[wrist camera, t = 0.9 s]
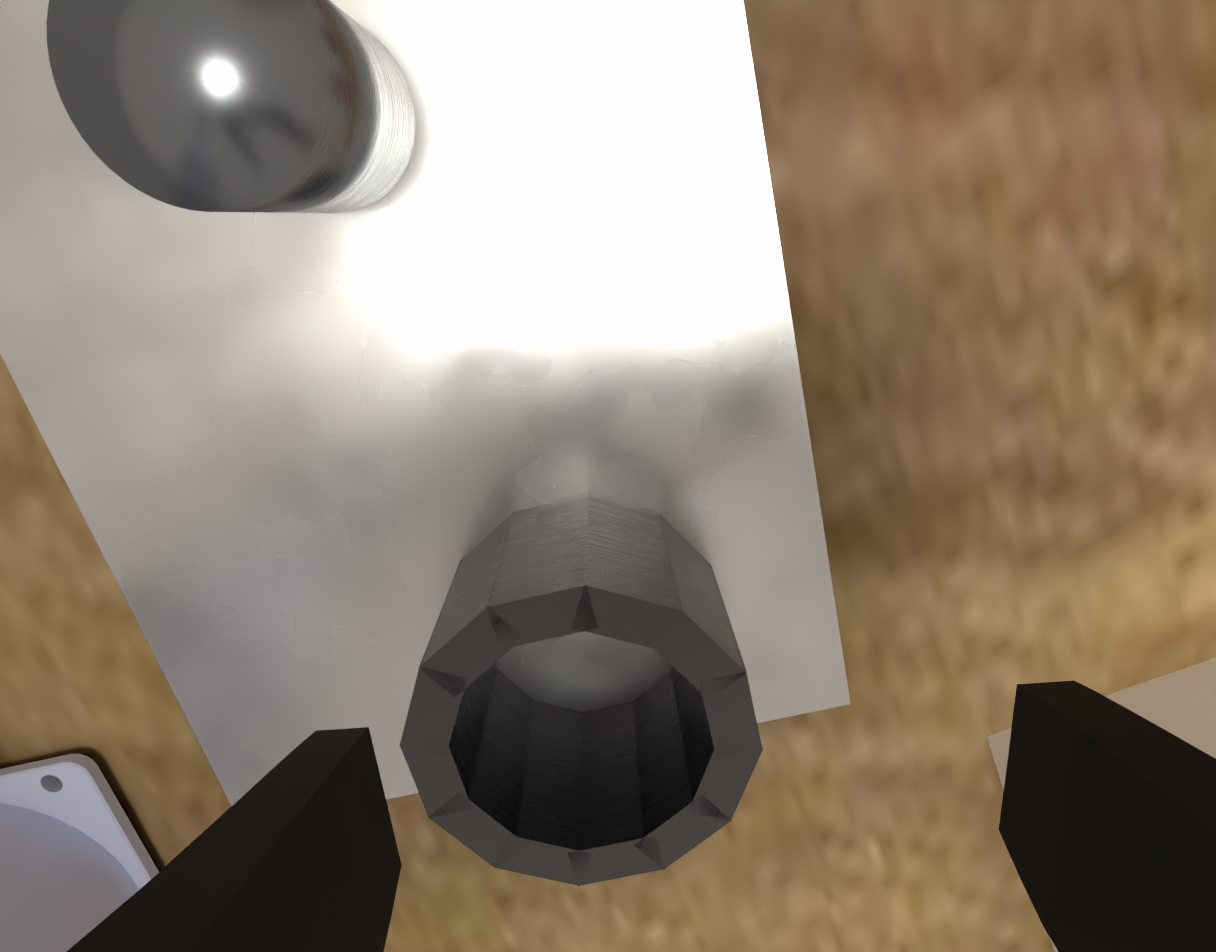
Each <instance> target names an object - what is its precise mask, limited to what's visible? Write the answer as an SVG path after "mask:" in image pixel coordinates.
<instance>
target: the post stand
mask: <svg viewBox="0 0 1216 952" xmlns="http://www.w3.org/2000/svg"><path fill="white" fill-rule="evenodd" d="M0 354H1V356H2V358H3V360H4V362H5V364H6V366H7V368H8V370H9V372H10V374H11V376H12V378H13V380H14V382H15V384H16V386H17V388H18V390H19V392H20V393H21V395H22V397H23V399H24V401H25V403H26V405H27V407H28V409H29V411H30V413H31V415H32V417H33V419H34V421H35V423H36V425H37V427H38V429H39V431H40V433H41V435H42V436H43V438H44V440H45V442H46V444H47V446H48V448H49V450H50V452H51V454H52V456H53V458H54V460H55V462H56V464H57V466H58V468H59V470H60V472H61V474H62V476H63V478H64V479H65V481H66V483H67V485H68V487H69V489H70V491H71V493H72V495H73V497H74V499H75V501H76V503H77V505H78V507H79V509H80V511H81V513H82V515H83V517H84V519H85V521H86V522H87V524H88V526H89V528H90V530H91V532H92V534H93V536H94V538H95V540H96V542H97V544H98V546H99V548H100V550H101V552H102V554H103V556H104V558H105V560H106V562H107V564H108V565H109V567H110V569H111V571H112V573H113V575H114V577H115V579H116V581H117V583H118V585H119V587H120V589H121V591H122V593H123V595H124V597H125V599H126V601H127V603H128V605H129V606H130V608H131V610H132V612H133V614H134V616H135V618H136V620H137V622H138V624H139V626H140V628H141V630H142V632H143V634H144V636H145V638H146V640H147V642H148V644H149V646H150V648H151V649H152V651H153V653H154V655H155V657H156V659H157V661H158V663H159V665H160V667H161V669H162V671H163V673H164V675H165V677H166V679H167V681H168V683H169V685H170V687H171V689H172V691H173V692H174V694H175V696H176V698H177V700H178V702H179V704H180V706H181V708H182V710H183V712H184V714H185V716H186V718H187V720H188V722H189V724H190V726H191V728H192V730H193V732H194V734H195V735H196V737H197V739H198V741H199V743H200V745H201V747H202V749H203V751H204V753H205V755H206V757H207V759H208V761H209V763H210V765H211V767H212V769H213V771H214V773H215V775H216V777H217V778H218V780H219V782H220V784H221V786H222V788H223V790H224V792H225V794H226V796H227V798H228V800H229V802H230V804H231V806H233V805H234V804H235V803H236V802H237V801H238V800H239V799H240V798H241V797H242V796H243V795H245V794H246V793H247V792H248V791H249V790H250V789H251V788H252V787H253V786H254V785H255V784H256V783H258V782H259V781H260V780H261V779H262V778H263V777H264V776H265V775H266V774H267V773H268V772H270V771H271V770H272V769H273V768H274V767H275V766H276V765H277V764H278V763H279V762H280V761H282V760H283V759H284V758H285V757H286V756H287V755H288V754H289V753H290V752H292V751H293V750H294V749H295V748H296V747H297V746H298V745H299V744H301V743H302V742H303V741H304V740H305V739H307V738H308V737H309V736H310V735H311V734H312V733H314V732H315V731H317V730H333V729H348V728H363V727H369V730H370V735H371V739H372V743H373V747H374V752H375V756H376V760H377V764H378V768H379V773H380V777H381V781H382V785H383V790H384V794H385V798H386V799H391V798H396V797H401V796H406V795H411V794H416V793H419V792H418V790H417V787H416V785H415V782H414V780H413V777H412V775H411V772H410V770H409V767H408V765H407V762H406V760H405V757H404V755H403V752H402V750H401V747H400V745H399V744H400V741H401V738H402V734H403V730H404V726H405V722H406V718H407V714H408V710H409V706H410V702H411V698H412V694H413V690H414V686H415V682H416V678H417V674H418V670H419V665H420V663H421V660H422V658H423V655H424V653H425V650H426V647H427V645H428V642H429V640H430V637H431V635H432V632H433V630H434V627H435V624H436V622H437V619H438V617H439V614H440V612H441V609H442V607H443V604H444V601H445V599H446V596H447V594H448V591H449V589H450V586H451V583H452V581H453V578H454V576H455V573H456V571H457V568H458V566H459V563H460V561H461V560H462V559H463V558H464V557H465V556H466V555H467V554H468V553H469V552H470V551H472V550H473V549H474V548H475V547H476V546H477V545H478V544H479V543H480V542H481V541H482V540H484V539H485V538H486V537H487V536H488V535H489V534H490V533H491V532H492V531H493V530H494V529H496V528H497V527H498V526H499V525H500V524H501V523H502V522H503V521H504V520H505V519H506V518H508V517H509V516H510V515H511V514H512V513H513V512H516V511H521V510H525V509H529V508H534V507H538V506H543V505H547V504H551V503H556V502H560V501H564V500H569V499H573V498H578V497H582V496H586V495H589V496H593V497H596V498H600V499H604V500H607V501H611V502H615V503H618V504H622V505H626V506H629V507H633V508H637V509H640V510H644V511H648V512H651V513H655V514H659V515H662V516H663V517H664V518H665V519H666V520H667V521H668V523H669V524H670V525H671V526H672V527H673V528H674V529H675V530H676V531H677V532H678V533H679V534H680V535H681V536H682V537H683V538H684V539H685V540H686V541H687V542H688V543H689V544H690V545H691V546H692V547H693V548H694V549H695V550H696V551H697V552H698V553H699V554H700V555H701V556H702V557H703V558H704V559H705V560H706V561H707V562H708V563H709V564H711V566H712V569H713V572H714V575H715V578H716V581H717V584H718V587H719V590H720V593H721V596H722V599H723V602H724V605H725V608H726V611H727V614H728V617H729V620H730V623H731V626H732V629H733V632H734V635H735V638H736V641H737V644H738V647H739V650H740V653H741V656H742V659H743V662H744V665H745V668H746V671H747V677H748V682H749V687H750V692H751V697H752V702H753V707H754V712H755V716H756V721H757V723H761V722H766V721H771V720H776V719H781V718H785V717H790V716H795V715H800V714H805V713H810V712H815V711H819V710H824V709H829V708H834V707H839V706H844V705H849V704H850V698H849V691H848V684H847V678H846V671H845V665H844V658H843V652H842V645H841V638H840V632H839V625H838V619H837V612H836V606H835V599H834V592H833V586H832V579H831V573H830V566H829V560H828V553H827V546H826V540H825V533H824V527H823V520H822V514H821V507H820V500H819V494H818V487H817V481H816V474H815V468H814V461H813V454H812V448H811V441H810V435H809V428H808V422H807V415H806V408H805V402H804V395H803V389H802V382H801V376H800V369H799V362H798V356H797V349H796V343H795V336H794V330H793V323H792V316H791V310H790V303H789V297H788V290H787V284H786V277H785V271H784V264H783V257H782V251H781V244H780V238H779V231H778V225H777V218H776V211H775V205H774V198H773V192H772V185H771V179H770V172H769V165H768V159H767V152H766V146H765V139H764V133H763V126H762V119H761V113H760V106H759V100H758V93H757V87H756V80H755V73H754V67H753V60H752V54H751V47H750V41H749V34H748V27H747V21H746V14H745V8H744V1H743V0H0ZM495 664H496V667H497V669H498V670H499V671H501V672H502V673H503V674H504V675H505V676H506V677H508V678H509V679H510V680H511V681H512V682H513V683H515V684H516V685H517V686H518V687H519V688H520V689H522V690H523V691H524V692H525V693H526V694H527V695H529V696H530V697H531V698H532V699H533V700H536V701H540V702H544V703H548V704H552V705H557V706H561V707H565V708H569V709H573V710H577V711H582V712H585V711H590V710H595V709H599V708H604V707H609V706H614V705H618V704H623V703H628V702H633V701H634V700H635V699H636V698H638V697H639V696H640V695H642V694H643V693H644V692H645V691H647V690H648V689H649V688H650V687H652V686H653V685H654V684H655V683H657V682H658V681H659V680H660V679H662V678H663V677H664V676H665V675H667V674H668V673H669V672H670V671H671V669H672V667H673V666H672V665H671V664H670V663H669V662H668V661H667V660H666V659H665V658H664V657H662V656H661V655H660V654H659V653H658V652H657V651H656V650H655V649H653V648H649V647H645V646H641V645H637V644H633V643H629V642H625V641H621V640H617V639H613V638H609V637H605V636H601V635H598V634H594V633H590V632H586V631H583V632H579V633H574V634H570V635H565V636H560V637H556V638H551V639H546V640H542V641H537V642H533V643H528V644H523V645H519V646H514V647H513V648H512V649H511V650H509V651H508V652H507V653H506V654H505V655H504V656H502V657H501V658H500V659H499V660H498V661H497V662H495Z"/></svg>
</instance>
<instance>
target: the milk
mask: <svg viewBox="0 0 1216 952" xmlns="http://www.w3.org/2000/svg"><path fill="white" fill-rule="evenodd" d="M1105 697H1107V698H1109V699H1111V700H1113V701H1114V702H1116V703H1118V704H1120V705H1122V706H1124V707H1125V708H1127V709H1129V710H1131V711H1133V712H1134V713H1136V714H1138V715H1140V716H1141V717H1143V718H1145V719H1147V720H1149V721H1150V722H1152V723H1154V724H1156V725H1157V726H1159V727H1161V728H1163V729H1164V730H1166V731H1168V732H1170V733H1172V734H1173V735H1175V736H1177V737H1179V738H1180V739H1182V740H1184V741H1186V742H1187V743H1189V744H1191V745H1193V746H1194V747H1196V748H1198V749H1200V750H1201V751H1203V752H1205V753H1207V754H1208V755H1210V756H1212V757H1214V758H1215V759H1216V658H1213V659H1210V660H1207V661H1204V662H1201V663H1198V664H1195V665H1192V666H1189V667H1187V668H1184V669H1181V670H1178V671H1175V672H1172V673H1169V674H1166V675H1163V676H1160V677H1158V678H1155V679H1152V680H1149V681H1146V682H1143V683H1140V684H1137V685H1134V686H1131V687H1129V688H1126V689H1123V690H1120V691H1117V692H1114V693H1111V694H1108V695H1105ZM1011 729H1012V728H1010V729H1007V730H1004V731H1001V732H998V733H995V734H992V735H989V736H987V739H988V742H989V745H990V749H991V752H992V755H993V758H994V761H995V765H996V768H997V771H998V774H999V777H1000V781H1001V784H1002V787H1003V790H1004V785H1005V777H1006V769H1007V761H1008V753H1009V745H1010V737H1011ZM1050 940H1051V938H1050ZM1051 943H1052V946H1053V949H1054V952H1058V950H1057V948H1056V947H1055V945H1054V943H1053V942H1052V940H1051Z"/></svg>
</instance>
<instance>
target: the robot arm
mask: <svg viewBox="0 0 1216 952" xmlns="http://www.w3.org/2000/svg"><path fill="white" fill-rule="evenodd" d="M56 777H57V778H59V779H60V780H59V779H57V778H56ZM999 831H1000V833H1001V836H1002V838H1003V840H1004V842H1005V845H1006V847H1007V849H1008V851H1009V854H1010V856H1011V858H1012V860H1013V863H1014V865H1015V867H1016V869H1017V871H1018V874H1019V876H1020V878H1021V880H1022V883H1023V885H1024V887H1025V889H1026V891H1027V893H1028V895H1029V897H1030V899H1031V901H1032V903H1033V906H1034V908H1035V910H1036V912H1037V914H1038V916H1039V918H1040V920H1041V922H1042V924H1043V926H1044V928H1045V930H1046V931H1047V933H1048V935H1049V937H1050V938H1051V940H1052V942H1053V943H1054V945H1055V947H1056V948H1057V950H1058V952H1216V759H1215V758H1214V757H1212V756H1210V755H1208V754H1207V753H1205V752H1203V751H1201V750H1200V749H1198V748H1196V747H1194V746H1193V745H1191V744H1189V743H1187V742H1186V741H1184V740H1182V739H1180V738H1179V737H1177V736H1175V735H1173V734H1172V733H1170V732H1168V731H1166V730H1164V729H1163V728H1161V727H1159V726H1157V725H1156V724H1154V723H1152V722H1150V721H1149V720H1147V719H1145V718H1143V717H1141V716H1140V715H1138V714H1136V713H1134V712H1133V711H1131V710H1129V709H1127V708H1125V707H1124V706H1122V705H1120V704H1118V703H1116V702H1114V701H1113V700H1111V699H1109V698H1107V697H1105V696H1103V695H1101V694H1099V693H1098V692H1096V691H1094V690H1092V689H1090V688H1088V687H1086V686H1084V685H1082V684H1080V683H1078V682H1075V681H1063V682H1048V683H1032V684H1017V689H1016V697H1015V705H1014V713H1013V721H1012V729H1011V737H1010V745H1009V753H1008V761H1007V769H1006V777H1005V785H1004V793H1003V801H1002V809H1001V817H1000V824H999ZM400 869H401V861H400V857H399V853H398V849H397V845H396V840H395V836H394V832H393V828H392V823H391V819H390V815H389V811H388V806H387V802H386V798H385V794H384V790H383V785H382V781H381V777H380V773H379V768H378V764H377V760H376V756H375V752H374V747H373V743H372V739H371V735H370V730H369V727H363V728H348V729H333V730H317V731H315V732H314V733H312V734H311V735H310V736H309V737H308V738H307V739H305V740H304V741H303V742H302V743H301V744H299V745H298V746H297V747H296V748H295V749H294V750H293V751H292V752H290V753H289V754H288V755H287V756H286V757H285V758H284V759H283V760H282V761H280V762H279V763H278V764H277V765H276V766H275V767H274V768H273V769H272V770H271V771H270V772H268V773H267V774H266V775H265V776H264V777H263V778H262V779H261V780H260V781H259V782H258V783H256V784H255V785H254V786H253V787H252V788H251V789H250V790H249V791H248V792H247V793H246V794H245V795H243V796H242V797H241V798H240V799H239V800H238V801H237V802H236V803H235V804H234V805H233V806H232V807H230V808H229V809H228V810H227V811H226V812H225V813H224V814H223V815H222V816H221V817H220V818H218V819H217V820H216V821H215V822H214V823H213V824H212V825H211V826H210V827H209V828H207V829H206V830H205V831H204V832H203V833H202V834H201V835H200V836H199V837H197V838H196V839H195V840H194V841H193V842H192V843H191V844H190V845H189V846H188V847H186V848H185V849H184V850H183V851H182V852H181V853H180V854H179V855H178V856H177V857H175V858H174V859H173V860H172V861H171V862H170V863H169V864H168V865H167V866H165V867H164V868H163V869H162V870H161V871H160V872H159V871H158V870H157V868H156V866H155V864H154V863H153V861H152V859H151V857H150V856H149V854H148V852H147V850H146V849H145V847H144V845H143V843H142V842H141V840H140V838H139V836H138V835H137V833H136V831H135V829H134V828H133V826H132V824H131V823H130V821H129V819H128V817H127V816H126V814H125V812H124V810H123V809H122V807H121V805H120V803H119V802H118V800H117V798H116V796H115V795H114V793H113V791H112V789H111V788H110V786H109V784H108V782H107V781H106V779H105V777H104V776H103V774H102V772H101V770H100V769H99V767H98V765H97V764H96V763H95V761H94V760H93V759H91V758H89V757H88V756H85V755H82V754H68V755H63V756H59V757H54V758H49V759H45V760H40V761H35V762H31V763H26V764H21V765H17V766H12V767H8V768H3V769H0V952H383V951H384V946H385V942H386V937H387V933H388V928H389V924H390V919H391V915H392V910H393V905H394V900H395V895H396V889H397V884H398V879H399V874H400Z"/></svg>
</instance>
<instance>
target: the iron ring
mask: <svg viewBox="0 0 1216 952" xmlns="http://www.w3.org/2000/svg"><path fill="white" fill-rule="evenodd" d="M583 631H586V632H590V633H594V634H598V635H601V636H605V637H609V638H613V639H617V640H621V641H625V642H629V643H633V644H637V645H641V646H645V647H649V648H653V649H655V650H656V651H657V652H658V653H659V654H660V655H661V656H662V657H664V658H665V659H666V660H667V661H668V662H669V663H670V664H671V665H672V666H673V667H672V669H671V671H670V672H669V673H668V674H667V675H665V676H664V677H663V678H662V679H660V680H659V681H658V682H657V683H655V684H654V685H653V686H652V687H650V688H649V689H648V690H647V691H645V692H644V693H643V694H642V695H640V696H639V697H638V698H636V699H635V700H634V701H633V702H628V703H623V704H618V705H614V706H609V707H604V708H599V709H595V710H590V711H585V712H582V711H577V710H573V709H569V708H565V707H561V706H557V705H552V704H548V703H544V702H540V701H536V700H533V699H532V698H531V697H530V696H529V695H527V694H526V693H525V692H524V691H523V690H522V689H520V688H519V687H518V686H517V685H516V684H515V683H513V682H512V681H511V680H510V679H509V678H508V677H506V676H505V675H504V674H503V673H502V672H501V671H499V670H498V669H497V667H496V664H495V662H497V661H498V660H499V659H500V658H501V657H502V656H504V655H505V654H506V653H507V652H508V651H509V650H511V649H512V648H513V647H514V646H519V645H523V644H528V643H533V642H537V641H542V640H546V639H551V638H556V637H560V636H565V635H570V634H574V633H579V632H583ZM399 745H400V747H401V750H402V752H403V755H404V757H405V760H406V762H407V765H408V767H409V770H410V772H411V775H412V777H413V780H414V782H415V785H416V787H417V790H418V792H419V794H420V797H421V799H422V802H423V804H424V807H425V809H426V812H427V814H428V817H429V818H430V819H431V820H433V821H434V822H435V823H437V824H438V825H439V826H440V827H442V828H443V829H444V830H446V831H447V832H448V833H450V834H451V835H452V836H454V837H455V838H456V839H458V840H459V841H460V842H462V843H463V844H464V845H465V846H467V847H468V848H469V849H471V850H472V851H473V852H475V853H476V854H477V855H479V856H480V857H481V858H483V859H484V860H485V861H487V862H488V863H489V864H490V865H492V866H493V867H494V868H499V869H504V870H508V871H513V872H518V873H522V874H527V875H532V876H537V877H541V878H546V879H551V880H555V881H560V882H565V883H569V884H574V885H578V886H580V885H585V884H590V883H595V882H600V881H605V880H610V879H615V878H621V877H626V876H631V875H636V874H641V873H646V872H651V871H656V870H662V869H665V868H666V867H668V866H669V865H670V864H672V863H673V862H674V861H676V860H677V859H679V858H680V857H681V856H683V855H684V854H686V853H687V852H688V851H690V850H691V849H692V848H694V847H695V846H697V845H698V844H699V843H701V842H702V841H704V840H705V839H706V838H708V837H709V836H710V835H712V834H713V833H715V832H716V831H717V830H719V829H720V828H722V827H723V826H724V825H726V824H727V823H728V822H730V821H731V819H732V817H733V815H734V812H735V810H736V808H737V806H738V803H739V801H740V799H741V797H742V794H743V792H744V790H745V788H746V785H747V783H748V781H749V779H750V776H751V774H752V772H753V770H754V767H755V765H756V763H757V761H758V758H759V756H760V754H761V752H762V745H761V741H760V736H759V731H758V726H757V721H756V716H755V712H754V707H753V702H752V697H751V692H750V687H749V682H748V677H747V671H746V668H745V665H744V662H743V659H742V656H741V653H740V650H739V647H738V644H737V641H736V638H735V635H734V632H733V629H732V626H731V623H730V620H729V617H728V614H727V611H726V608H725V605H724V602H723V599H722V596H721V593H720V590H719V587H718V584H717V581H716V578H715V575H714V572H713V569H712V566H711V564H709V563H708V562H707V561H706V560H705V559H704V558H703V557H702V556H701V555H700V554H699V553H698V552H697V551H696V550H695V549H694V548H693V547H692V546H691V545H690V544H689V543H688V542H687V541H686V540H685V539H684V538H683V537H682V536H681V535H680V534H679V533H678V532H677V531H676V530H675V529H674V528H673V527H672V526H671V525H670V524H669V523H668V521H667V520H666V519H665V518H664V517H663V516H662V515H659V514H655V513H651V512H648V511H644V510H640V509H637V508H633V507H629V506H626V505H622V504H618V503H615V502H611V501H607V500H604V499H600V498H596V497H593V496H589V495H586V496H582V497H578V498H573V499H569V500H564V501H560V502H556V503H551V504H547V505H543V506H538V507H534V508H529V509H525V510H521V511H516V512H513V513H512V514H511V515H510V516H509V517H508V518H506V519H505V520H504V521H503V522H502V523H501V524H500V525H499V526H498V527H497V528H496V529H494V530H493V531H492V532H491V533H490V534H489V535H488V536H487V537H486V538H485V539H484V540H482V541H481V542H480V543H479V544H478V545H477V546H476V547H475V548H474V549H473V550H472V551H470V552H469V553H468V554H467V555H466V556H465V557H464V558H463V559H462V560H461V561H460V563H459V566H458V568H457V571H456V573H455V576H454V578H453V581H452V583H451V586H450V589H449V591H448V594H447V596H446V599H445V601H444V604H443V607H442V609H441V612H440V614H439V617H438V619H437V622H436V624H435V627H434V630H433V632H432V635H431V637H430V640H429V642H428V645H427V647H426V650H425V653H424V655H423V658H422V660H421V663H420V665H419V670H418V674H417V678H416V682H415V686H414V690H413V694H412V698H411V702H410V706H409V710H408V714H407V718H406V722H405V726H404V730H403V734H402V738H401V741H400V744H399Z"/></svg>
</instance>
